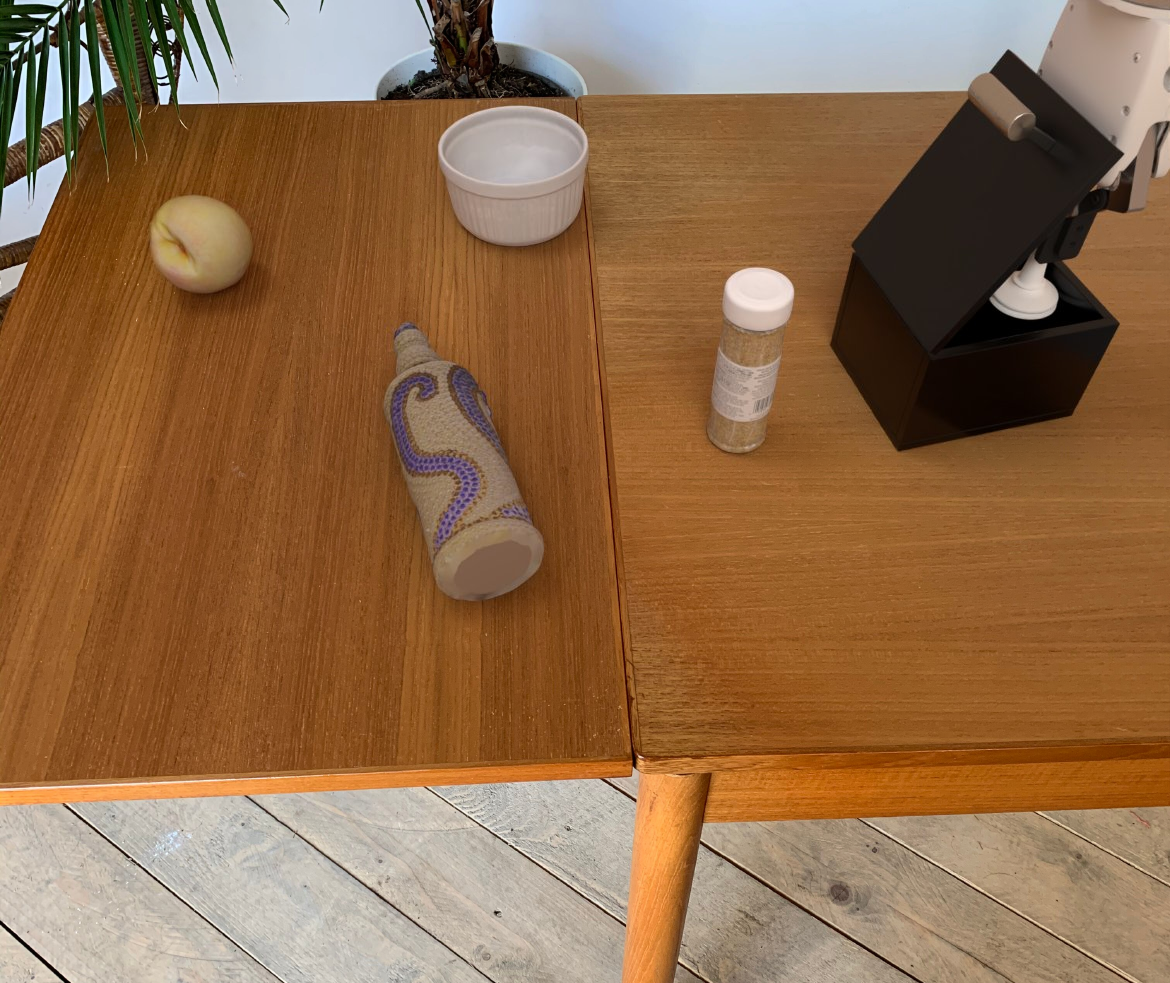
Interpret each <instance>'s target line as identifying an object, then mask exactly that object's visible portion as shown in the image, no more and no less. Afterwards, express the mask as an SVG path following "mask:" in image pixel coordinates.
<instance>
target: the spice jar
mask: <svg viewBox="0 0 1170 983" xmlns="http://www.w3.org/2000/svg"><path fill="white" fill-rule="evenodd" d="M794 300H795V288H794V285H793V283H792V281H791V280H790V279H789V278H788V277H787V276H786V275H784V274H783V273H781V272H779V271H778V270H775V269H771V268H767V267H758V266H757V267H756V266H755V267H747V268H743V269H740V270H738V271H736V272H734V273H732V274H731V275H730V276H729V278H728V279H727V280H726V282H725V284H724V289H723V295H722V303H721V309H722V310H721V311H722V314H723V315H722V316H723V317H722V324H721V332H720V338H719V345H718V349H717V355H716V363H715V368H714V375H713V382H712V389H711V406H710V413H709V419H708V420H707V424H706V434H707V436H708V438H709V441H710V442H711V443H713V444H714V445H715V446H716V447H717V448H718V449H720V450H722V451H725V452H728V453H732V454H733V453H734V454H743V453H744V454H745V453H749V452H752V451H754V450H756V449H758V448H759V447H761V446H762V444H764V441H765V440H766V436H767V424H768V418H769V414H770V411H771V408H772V406H773V405H772V404H773V400H774V395H775V390H776V386H777V385H776V384H777V380H778V376H779V375H778V374H779V370H780V365H781V360H782V355H783V344H784V338H785V332H786V328H787V324H788V322H789V320H790V318H791V315H792V311H793V307H794V306H793V305H794Z"/></svg>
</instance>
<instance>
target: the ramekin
mask: <svg viewBox="0 0 1170 983" xmlns="http://www.w3.org/2000/svg"><path fill="white" fill-rule="evenodd" d="M589 151H590V148H589V139H588V135H587V134H586V132H585V130H584V129H583V128H582V126H581V125H580V124H579V123H578V122H577V121H575V120H574V119H573V118H571V117H569V116H568V115H566V114H563V113H561V112H559V111H556V110H552V109H549V108H545V107H540V106H539V107H538V106H531V105H505V106H497V107H491V108H486V109H482V110H479V111H476V112H473V113H470V114H468V115H466V116H464V117H462V118H460V119H458V120H456V121H455V122H454V123H452V124H451V125H450V126H449V127H448V128H446V129H445V131H444V132H443V133H442V134H441V136H440V138H439V141H438V145H437V157H438V165H439V168H440V170H441V172H442V174H443V175H444V178H445V182H446V187H447V190H448V194H449V198H450V202H451V206H452V209H453V212H454V214H455V216H456V218H457V220H458V221H459V222H460V224H461V226H462V227H464V228H465V229H466V230H467V231H468V232H469V233H470V234H472V235H473V236H474V237H476V238H477V239H479V240H482V241H484V242H486V243H489V244H493V245H497V246H503V247H527V246H533V245H538V244H542V243H545V242H547V241H550V240H552V239H554V238H556V237H558V236H560V235H561V234H563V233H564V232H565V231H566V230H567V229H568V228H569V227H570V226H571V224H573V222H574V221H575V220H576V218H577V216H578V214H579V212H580V210H581V206H582V199H583V193H584V186H585V178H586V177H585V175H586V168H587V166H588V162H589V157H590V152H589Z"/></svg>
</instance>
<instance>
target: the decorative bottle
mask: <svg viewBox="0 0 1170 983" xmlns="http://www.w3.org/2000/svg"><path fill="white" fill-rule="evenodd" d="M393 340H394V342H393V352H394V355H395V358H396V363H395V364H396V365H395V366H396V367H395V373H396V377H395V378H394V379H393V380H392V381H391V382H390V384H389V385H388V387H387V390H386V391H385V395H384V398H383V404H382V406H383V407H382V409H383V413H384V416H385V421H386V423H387V425H388V427H389V432H390V435H391V438H392V440H393V444H394V448H395V451H396V454H397V456H398V457H397V458H398V460H399V463H400V466H401V470H402V474H403V478H404V480H405V482H406V485H407V487H408V494H409V496H410V498H411V500H412V501H413V504H414V507H415V511H416V515H417V519H418V521H419V524H420V526H421V527H420V528H421V531H422V535H423V538H424V541H425V543H426V546H427V550H428V555H429V559H430V564H431V566H432V574H433V578H434V579H435V583H436V585H437V587H438V589H439V590H440V591H441V592H442V594H445V595H446V596H448V597H451V599H454V600H457V601H460V600H462V601H463V600H464V601H469V602H479V601H480V602H481V601H487V600H490V599H494V598H496V597H500V596H502V595H505V594H508V593H509V592H512V591H514V590H515V589H517V588H518V587H519V586H521V585H522V584H524V583H525V582H527V581H528V580H529V579H530V578H531V577H533V575H534V574H535V573H536V572H537V571H538V570H539V568H540V566H541V565H542V562H543V557H544V552H545V542H544V539H543V538H544V537H543V535H542V534H541V532H540V531H539V530H538V528H537V529H536V527H535V525H534V523H533V520H532V517H531V515H530V513H529V510H528V507H527V505H526V504H525V501H524V499H523V496H522V493H521V492H520V489H519V486H518V484H517V482H516V479H515V477H514V473H513V471H512V469H511V466H510V463H509V460H508V458H507V455H506V452H505V450H504V449H503V447H502V443H501V439H500V437H499V434H498V432H497V430H496V427H495V425H494V424H493V419H492V416H493V413H492V410H491V407H490V406H489V405H488V401H487V394H485V392H484V391H483V390H480V388H479V383H478V382H476V379H475V377H474V376H473V375H472V373H470V371H469V370H468V369H467V368H465V367H464V366H462V365H460V364H457V363H455V362H452V361H448V360H442V358H441V356H440V355H439V354H437V352H436V351H435V350H433V349H432V347H431V344H430V342H429V339H428V338H427V336H426V335H425V333H424V332H422V331H421V330H420V329H419V328H418V326H417V325H415V323H414V322H412V321H408V322H403V323H401V325H400V326H399V328H398V329H396V330H395V331H394V336H393Z"/></svg>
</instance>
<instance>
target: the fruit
mask: <svg viewBox="0 0 1170 983" xmlns="http://www.w3.org/2000/svg"><path fill="white" fill-rule="evenodd" d="M155 213H156V214H155V215H154V217H153V219H152V221H151V224H150V229H149V253H150V256H151V260H152V263H153V265H154V267H155V268H156V270H157V271H158V272H159V273H160V275H162V277H163V278H164V279H165V280H166V281H167V282H169V283H170V284H171V285H173V286H175V287H176V288H177V289H180V290H183V291H186V292H189V293H193V294H214V293H217V292H221V291H223V290H225V289H228V288H230V287H233V286H234V285H236V284H237V283H238V282H239V281H241V279H242V278H243V277H244V275H245V273H246V272H247V270H248V268H249V266H250V263H251V261H252V260H251V259H252V256H253V252H254V240H253V236H252V233H251V230H250V228H249V226H248V224H247V223H246V221H245V219H244V218H243V216H241V215H240V213H239V212H238V211H237V210H235V209H234V208H233V207H231V206H230V205H228V204H227V203H225V202H223V201H221V200H219V199H217V198H214V197H210V196H205V195H201V194H188V195H181V196H175V197H173V198H170V199H169V200H167V201H165V202H164V203H163V204H161V205H160V207H159V208H158V210H157V211H156V212H155Z"/></svg>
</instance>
